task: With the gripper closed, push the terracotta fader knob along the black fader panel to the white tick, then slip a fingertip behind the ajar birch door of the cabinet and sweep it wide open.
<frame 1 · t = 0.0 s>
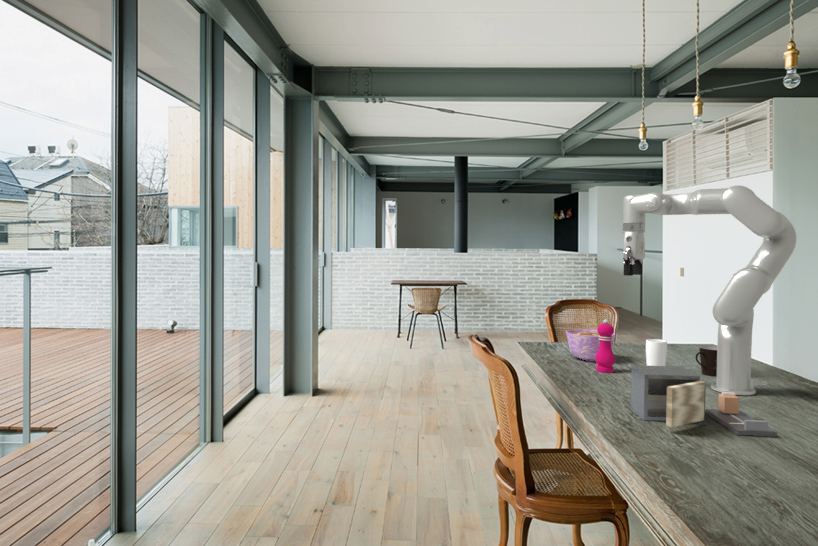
hand: (632, 275, 191), 37 cm above the table, tool pointing down, fingers open, 9 cm apart
coffee mug: (707, 374, 195), on the table
cabinet: (663, 414, 146), on the table
bowl of food: (589, 360, 221), on the table
fader panel: (738, 424, 137), on the table
door: (687, 406, 134), point 6 cm above the table, hinge at 35.0°
pepper mill: (604, 371, 199), on the table
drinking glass: (655, 383, 181), on the table
knob: (728, 402, 143), point 4 cm above the table, slide at 0.0 cm
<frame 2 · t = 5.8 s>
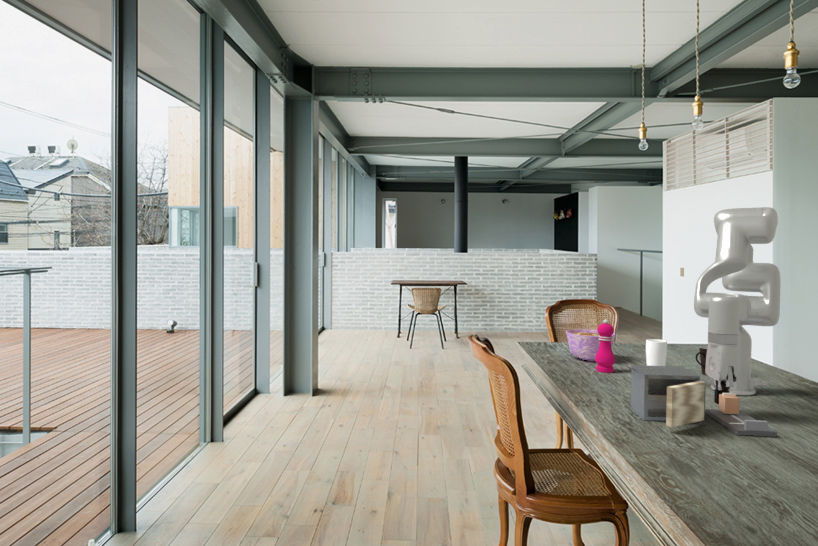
hand: (721, 403, 147), 3 cm above the table, tool pointing down, fingers closed
knob: (728, 402, 143), point 4 cm above the table, slide at 0.4 cm, touching gripper
everything else where it was.
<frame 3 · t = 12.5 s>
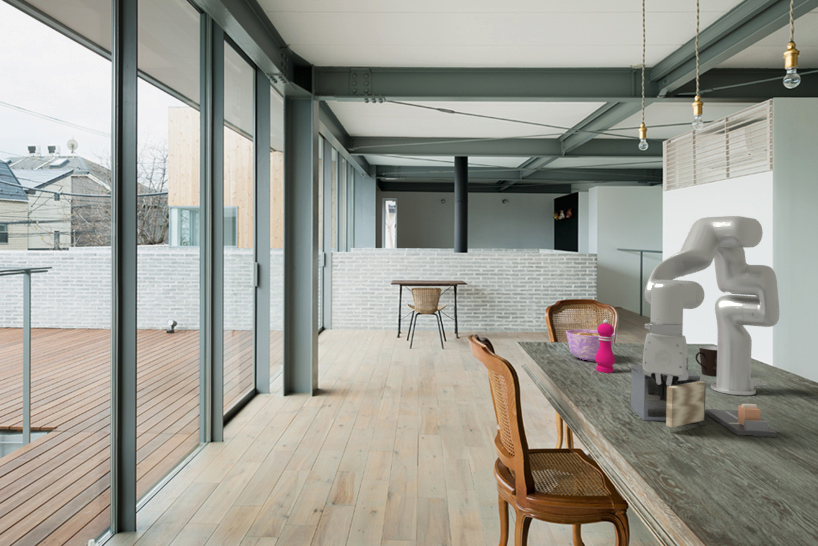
hand: (664, 399, 135), 7 cm above the table, tool pointing down, fingers closed
door: (687, 406, 134), point 6 cm above the table, hinge at 35.0°, touching gripper
knob: (749, 414, 132), point 4 cm above the table, slide at 11.0 cm
everything else where it was.
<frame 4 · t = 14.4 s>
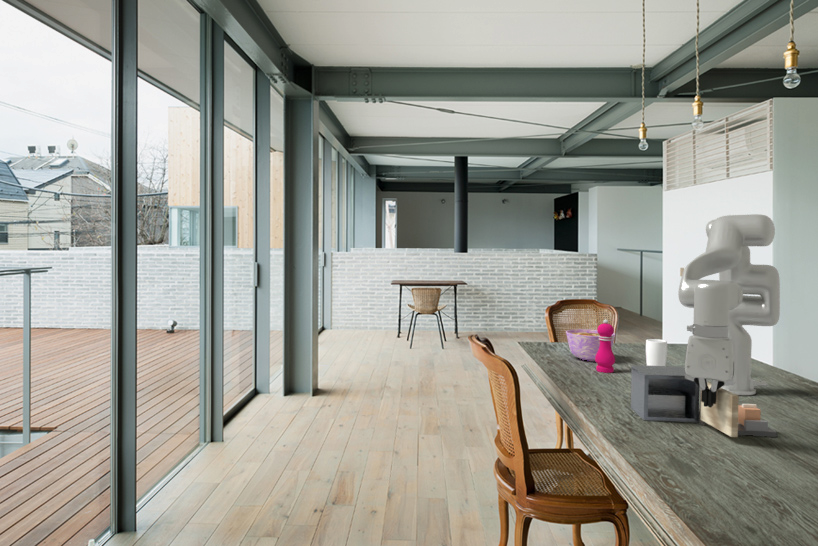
hand: (708, 405, 128), 8 cm above the table, tool pointing down, fingers closed
door: (717, 410, 130), point 6 cm above the table, hinge at 97.6°, touching gripper
everything else where it was.
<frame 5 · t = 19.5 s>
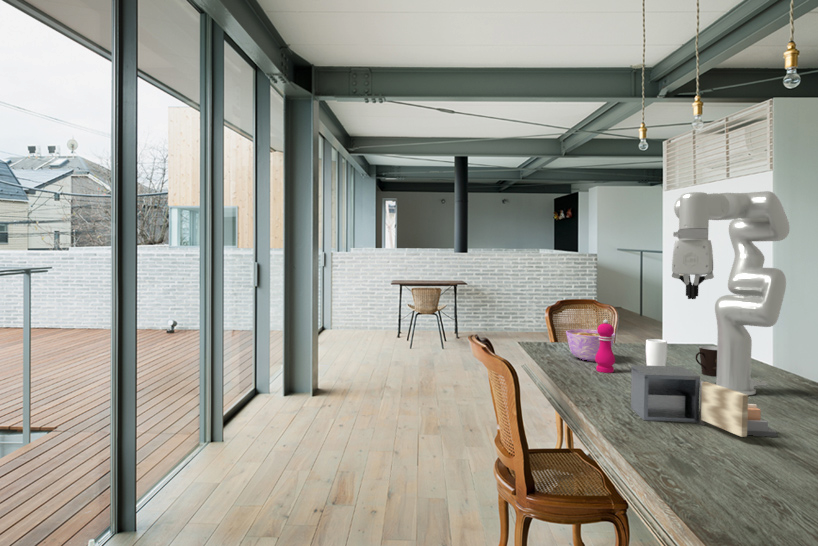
hand: (691, 298, 151), 32 cm above the table, tool pointing down, fingers closed
door: (721, 410, 131), point 6 cm above the table, hinge at 108.3°
everything else where it was.
at the end: door at +108° (first picture: +35°); knob slide at 11.0 cm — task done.
